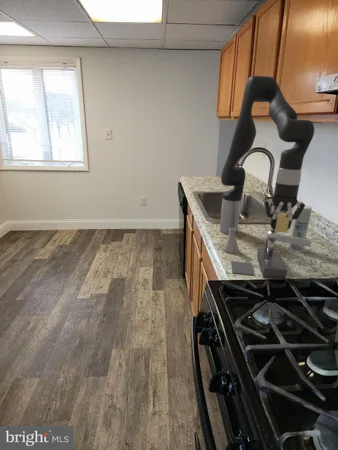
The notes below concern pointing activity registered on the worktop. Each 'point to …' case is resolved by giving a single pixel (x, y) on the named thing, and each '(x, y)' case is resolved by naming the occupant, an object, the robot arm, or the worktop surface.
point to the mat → (242, 268)
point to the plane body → (271, 262)
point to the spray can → (300, 227)
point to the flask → (231, 242)
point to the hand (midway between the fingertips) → (279, 228)
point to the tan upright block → (282, 222)
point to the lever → (288, 239)
